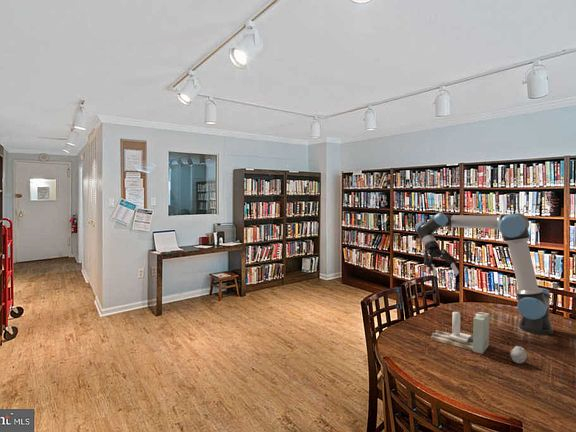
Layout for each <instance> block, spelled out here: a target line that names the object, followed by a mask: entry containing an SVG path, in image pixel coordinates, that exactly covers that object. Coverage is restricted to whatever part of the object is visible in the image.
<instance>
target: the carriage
mask: <svg viewBox="0 0 576 432" xmlns="http://www.w3.org/2000/svg"><path fill="white" fill-rule="evenodd" d="M451 313H452V316H451V317H452V319H451V321H452V322H451V323H452V327H451V329H452V332H451V333H450V334H451V335H450V336H449V338H451V339H455V340H459V341H463V342H467V341H469V342H473V336H472V335H471V334H467V333H463V332H461V312H460V311H452V312H451Z"/></svg>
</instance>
